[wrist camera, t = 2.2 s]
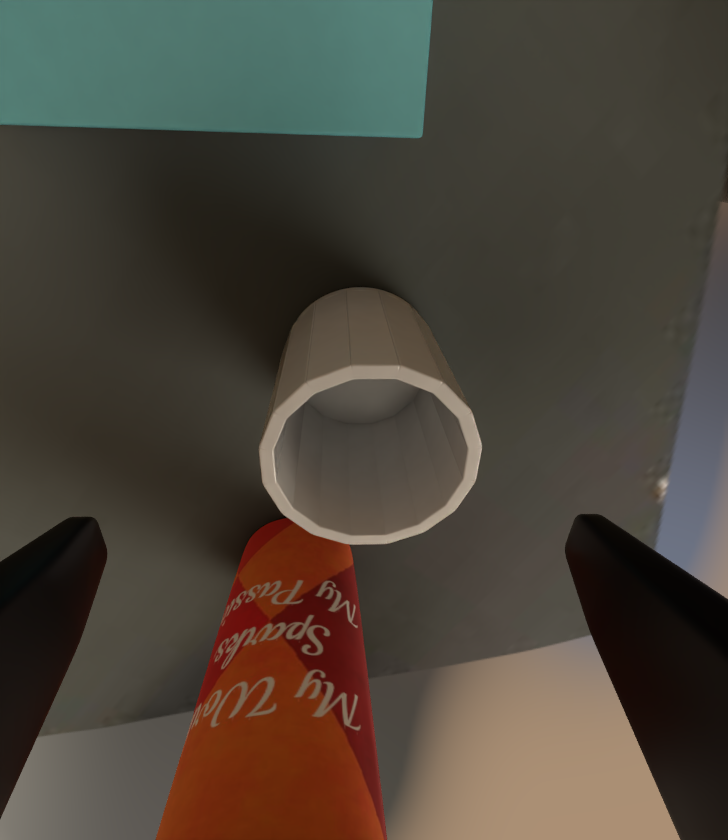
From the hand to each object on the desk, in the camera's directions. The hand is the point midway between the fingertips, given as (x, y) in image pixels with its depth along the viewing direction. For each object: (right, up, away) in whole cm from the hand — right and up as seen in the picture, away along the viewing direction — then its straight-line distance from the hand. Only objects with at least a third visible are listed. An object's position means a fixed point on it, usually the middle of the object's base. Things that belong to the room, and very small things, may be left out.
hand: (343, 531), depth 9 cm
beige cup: (0, +4, +10) cm, 11 cm away
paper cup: (-3, -5, +15) cm, 17 cm away
